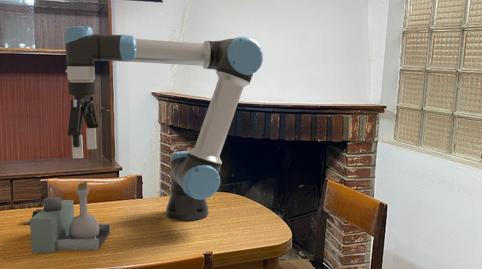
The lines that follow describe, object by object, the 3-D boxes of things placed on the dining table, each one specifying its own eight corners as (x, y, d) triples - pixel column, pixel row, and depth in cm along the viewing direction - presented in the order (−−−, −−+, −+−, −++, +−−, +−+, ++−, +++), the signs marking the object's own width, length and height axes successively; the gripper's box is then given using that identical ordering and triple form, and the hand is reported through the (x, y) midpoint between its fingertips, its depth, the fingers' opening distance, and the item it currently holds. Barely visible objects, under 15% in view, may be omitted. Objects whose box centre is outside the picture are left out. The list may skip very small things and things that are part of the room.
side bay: (110, 232, 144) (110, 223, 143) (97, 250, 130) (97, 240, 130) (72, 232, 143) (72, 223, 143) (55, 250, 130) (55, 240, 129)
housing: (74, 229, 145) (72, 190, 143) (53, 252, 128) (50, 208, 126) (55, 229, 145) (53, 190, 143) (31, 252, 127) (29, 208, 125)
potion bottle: (94, 245, 132) (92, 185, 130) (64, 244, 132) (61, 185, 130) (103, 234, 141) (101, 178, 138) (75, 233, 141) (73, 177, 138)
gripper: (81, 79, 142) (85, 145, 146) (52, 83, 118) (57, 162, 121) (105, 79, 143) (108, 145, 146) (81, 83, 118) (85, 162, 121)
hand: (85, 153), depth 134 cm, fingers open, 13 cm apart
